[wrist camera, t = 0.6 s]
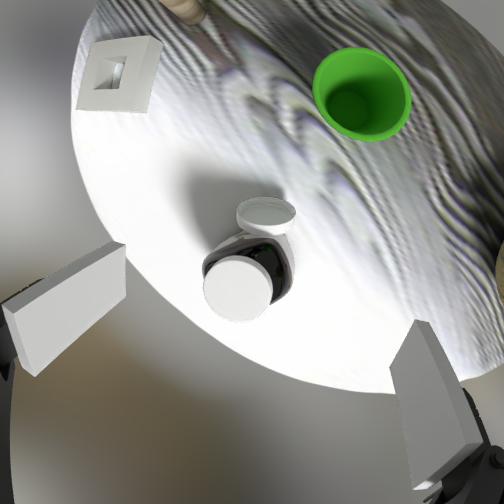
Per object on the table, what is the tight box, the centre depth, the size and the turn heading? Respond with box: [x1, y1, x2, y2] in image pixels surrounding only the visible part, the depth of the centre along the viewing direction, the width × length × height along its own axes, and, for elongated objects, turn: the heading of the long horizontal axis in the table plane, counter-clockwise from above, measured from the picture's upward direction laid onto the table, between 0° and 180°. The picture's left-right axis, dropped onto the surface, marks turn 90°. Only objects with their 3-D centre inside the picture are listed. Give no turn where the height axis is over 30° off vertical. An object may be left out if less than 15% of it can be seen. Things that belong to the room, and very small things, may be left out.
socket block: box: [76, 35, 164, 113], centre depth 32 cm, size 11×11×4 cm
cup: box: [312, 47, 411, 141], centre depth 26 cm, size 9×9×11 cm
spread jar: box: [202, 197, 296, 323], centre depth 33 cm, size 12×11×12 cm
